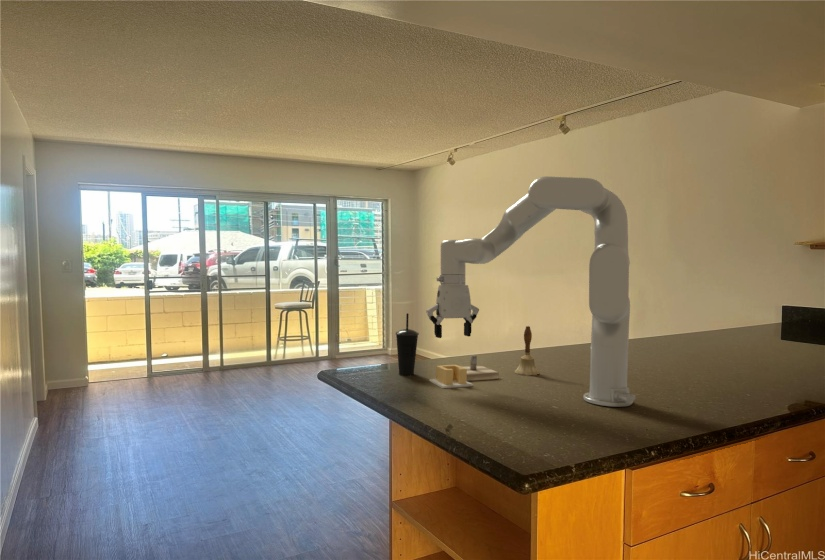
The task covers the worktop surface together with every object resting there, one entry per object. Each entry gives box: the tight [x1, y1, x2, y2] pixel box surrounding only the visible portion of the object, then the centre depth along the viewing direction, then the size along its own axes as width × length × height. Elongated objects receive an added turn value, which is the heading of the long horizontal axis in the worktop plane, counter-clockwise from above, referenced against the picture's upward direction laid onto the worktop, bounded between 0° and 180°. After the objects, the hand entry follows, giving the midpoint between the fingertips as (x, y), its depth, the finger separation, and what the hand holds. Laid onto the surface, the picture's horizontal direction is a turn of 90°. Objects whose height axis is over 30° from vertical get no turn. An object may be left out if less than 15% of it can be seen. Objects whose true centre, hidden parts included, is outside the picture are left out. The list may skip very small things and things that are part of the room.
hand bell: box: [514, 325, 540, 376], centre depth 183 cm, size 8×8×16 cm
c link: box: [435, 364, 468, 385], centre depth 165 cm, size 7×7×4 cm
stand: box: [462, 354, 499, 382], centre depth 177 cm, size 12×12×7 cm
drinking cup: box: [395, 313, 420, 376], centre depth 178 cm, size 8×8×20 cm
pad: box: [428, 378, 474, 389], centre depth 165 cm, size 10×10×1 cm
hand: (453, 336), depth 164 cm, fingers open, 9 cm apart
